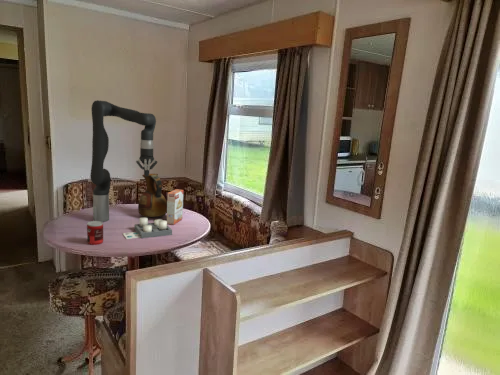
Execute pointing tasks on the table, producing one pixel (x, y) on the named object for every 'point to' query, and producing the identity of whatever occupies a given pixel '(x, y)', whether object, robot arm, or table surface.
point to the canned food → (95, 232)
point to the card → (131, 235)
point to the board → (154, 232)
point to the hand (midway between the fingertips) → (146, 176)
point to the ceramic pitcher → (152, 198)
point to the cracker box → (174, 206)
